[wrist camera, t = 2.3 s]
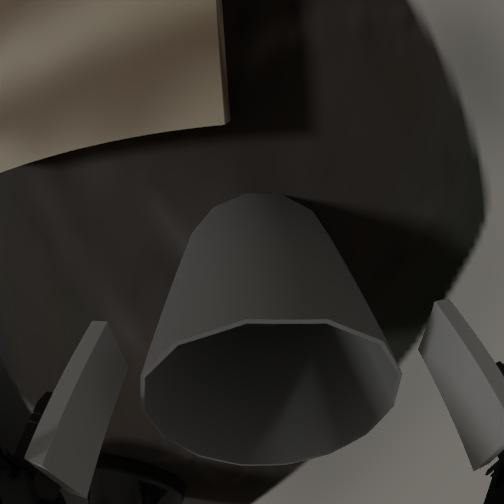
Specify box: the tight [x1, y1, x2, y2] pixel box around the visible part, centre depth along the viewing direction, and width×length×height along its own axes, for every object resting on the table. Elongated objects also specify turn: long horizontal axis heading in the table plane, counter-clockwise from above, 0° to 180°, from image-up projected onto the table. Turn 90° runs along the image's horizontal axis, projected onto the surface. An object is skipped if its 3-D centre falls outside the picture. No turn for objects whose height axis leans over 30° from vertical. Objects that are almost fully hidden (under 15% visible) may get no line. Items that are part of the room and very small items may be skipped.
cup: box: [141, 193, 402, 466], centre depth 13 cm, size 8×8×10 cm
